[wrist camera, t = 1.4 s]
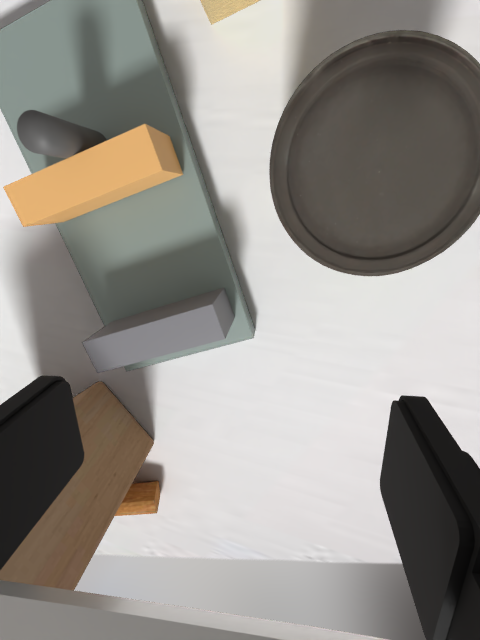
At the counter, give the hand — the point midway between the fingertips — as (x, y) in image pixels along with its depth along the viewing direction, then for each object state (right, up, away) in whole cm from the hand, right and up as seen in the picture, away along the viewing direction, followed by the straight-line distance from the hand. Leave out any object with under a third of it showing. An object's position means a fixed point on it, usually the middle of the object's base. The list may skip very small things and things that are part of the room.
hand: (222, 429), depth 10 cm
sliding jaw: (-11, +16, +19) cm, 27 cm away
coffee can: (+9, +15, +19) cm, 26 cm away
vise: (-9, +14, +22) cm, 28 cm away
